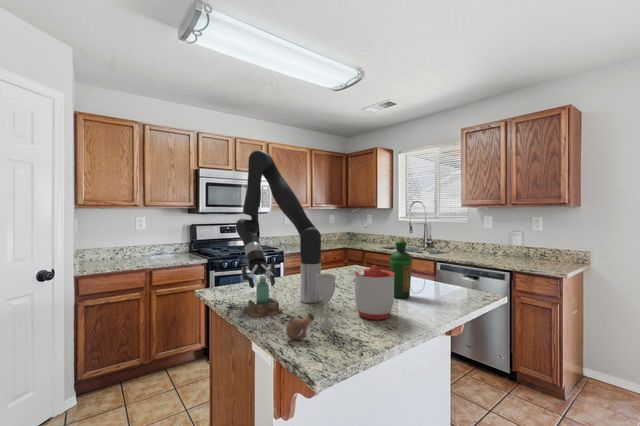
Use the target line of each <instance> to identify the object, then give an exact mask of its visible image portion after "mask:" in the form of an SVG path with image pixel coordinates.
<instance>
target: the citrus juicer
mask: <svg viewBox="0 0 640 426" xmlns="http://www.w3.org/2000/svg"><path fill="white" fill-rule="evenodd" d="M353 272H354V279H352V283H354V285H355V286H354V297H355V298H354V299H355V305H356V309H357V312H358V314H359V316H360V317H362V318H364V319H367V320H373V321H378V320H385V319H388V318H389V317H390V315H391V313H392V309H393V306H394V301H395V298H394V275H395V273H394V272H391V271H390V270H386V269H380V268H379V267H378V266H377V265H376V264H373V265H372V266H370V267H369V268H366V269H365V268H364V270H363V274H360V272H358V271H353Z"/></svg>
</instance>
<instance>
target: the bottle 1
mask: <svg viewBox="0 0 640 426" xmlns="http://www.w3.org/2000/svg"><path fill="white" fill-rule="evenodd" d="M255 293H256V297H255V299H256V300H255V301H256V303H255V304H256V305H260V304H267V303H269V298H270V285H269V283H268V282H267V276H265V275H259V282H258V283H257V284H256V291H255Z"/></svg>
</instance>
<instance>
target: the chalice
mask: <svg viewBox="0 0 640 426" xmlns="http://www.w3.org/2000/svg"><path fill="white" fill-rule="evenodd" d="M316 277H317V290H318V293H319V295H320V298H321V300H320V301H322V302H323V303H324V306H323V309H324V311H323V314H324V317H323V319H321V320H320V322H319V325H318V329H322V330H331V329H333V328H334V325H333V323H332V320H330V318H328V314H329V311H328V309H329V307H328V303H329V302H331V300H332V298H333V296H334V295H335V289H336V278H337V275H336V274H332V273H321V274H318V275H316Z"/></svg>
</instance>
